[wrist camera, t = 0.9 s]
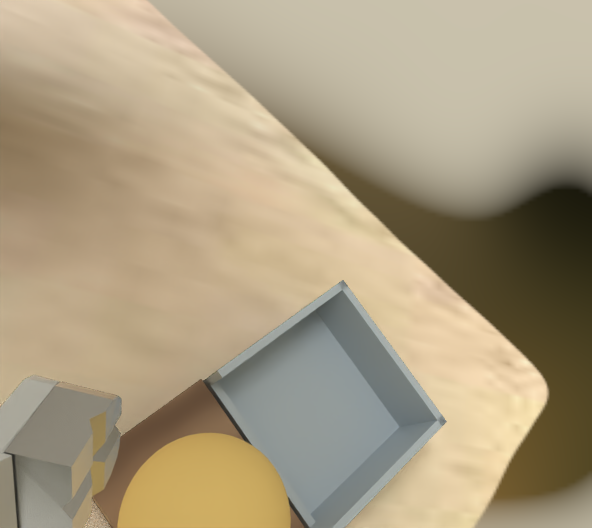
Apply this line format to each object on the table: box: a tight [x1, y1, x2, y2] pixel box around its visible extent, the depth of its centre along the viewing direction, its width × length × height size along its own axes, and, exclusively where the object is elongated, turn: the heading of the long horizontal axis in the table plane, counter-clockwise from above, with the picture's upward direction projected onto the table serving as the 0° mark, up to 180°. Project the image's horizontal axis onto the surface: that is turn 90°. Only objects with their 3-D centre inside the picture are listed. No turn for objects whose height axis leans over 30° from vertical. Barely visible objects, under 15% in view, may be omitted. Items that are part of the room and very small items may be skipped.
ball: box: [117, 433, 291, 528], centre depth 34 cm, size 10×10×10 cm
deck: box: [92, 379, 305, 528], centre depth 40 cm, size 14×10×3 cm
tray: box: [203, 280, 447, 528], centre depth 44 cm, size 14×13×6 cm
